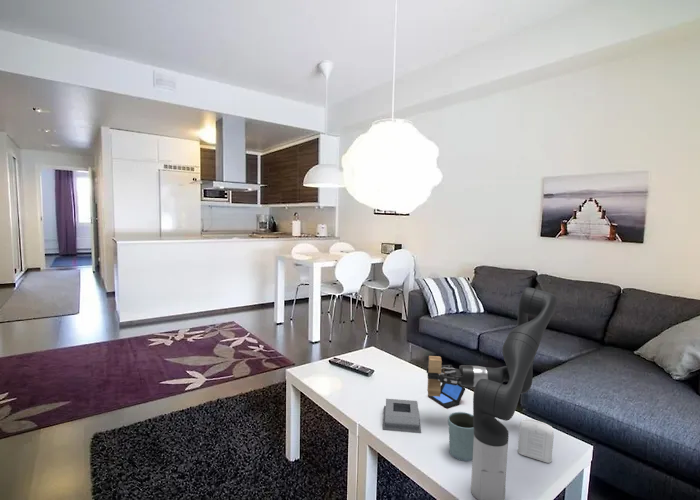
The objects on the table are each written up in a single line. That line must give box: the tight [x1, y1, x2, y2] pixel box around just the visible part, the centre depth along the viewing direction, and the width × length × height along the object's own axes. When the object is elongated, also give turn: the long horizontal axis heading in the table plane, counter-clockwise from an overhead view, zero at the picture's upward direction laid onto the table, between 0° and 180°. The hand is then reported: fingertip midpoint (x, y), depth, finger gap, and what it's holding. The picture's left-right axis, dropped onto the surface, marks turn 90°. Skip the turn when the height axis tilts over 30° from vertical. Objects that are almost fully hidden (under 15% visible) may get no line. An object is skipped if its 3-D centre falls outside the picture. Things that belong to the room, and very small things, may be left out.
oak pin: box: [426, 355, 443, 397], centre depth 143 cm, size 4×4×14 cm
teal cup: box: [447, 411, 474, 462], centre depth 126 cm, size 10×10×12 cm
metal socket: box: [382, 398, 422, 434], centre depth 146 cm, size 16×14×5 cm
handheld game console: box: [427, 382, 466, 409], centre depth 163 cm, size 12×11×7 cm
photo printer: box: [517, 418, 555, 464], centre depth 125 cm, size 10×4×12 cm, turn 60°
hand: (427, 372), depth 143 cm, fingers closed on oak pin, 4 cm apart
